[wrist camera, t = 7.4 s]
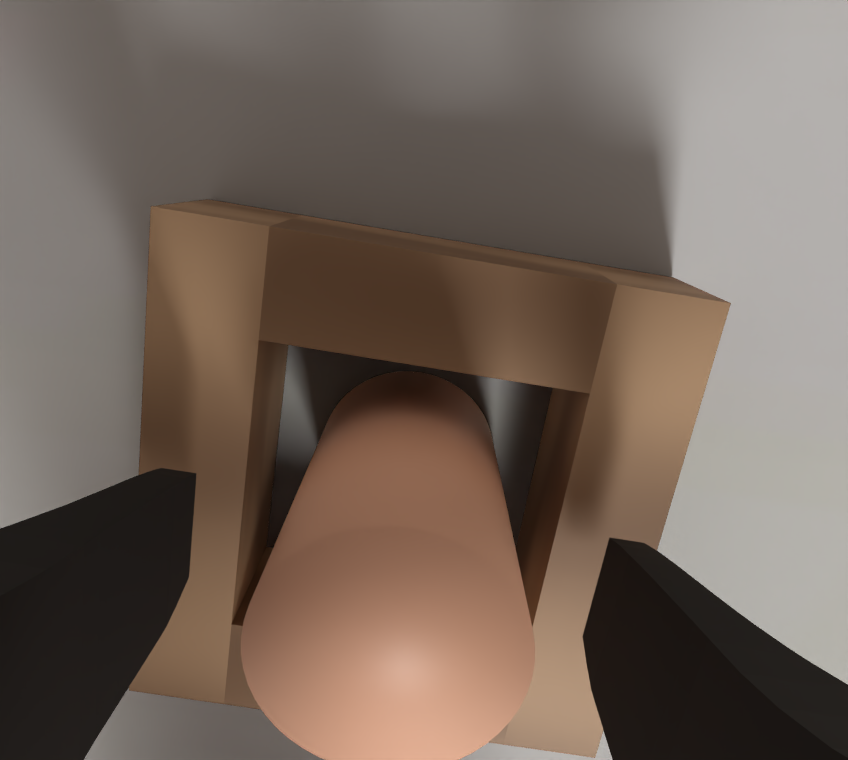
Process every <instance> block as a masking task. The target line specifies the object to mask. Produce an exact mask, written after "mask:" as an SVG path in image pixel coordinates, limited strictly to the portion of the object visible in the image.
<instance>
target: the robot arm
mask: <svg viewBox="0 0 848 760" xmlns="http://www.w3.org/2000/svg"><path fill="white" fill-rule="evenodd" d="M196 474H197V473H191V472H185V471H178V470H172V469H166V468H159V469H155V470H152V471H149V472H146V473H143V474H141V475H138V476H136V477H133V478H131V479H128V480H126V481H123V482H121V483H118V484H116V485H114V486H111V487H109V488H106V489H104V490H102V491H99V492H97V493H94V494H92V495H89V496H87V497H84V498H82V499H80V500H77V501H75V502H72V503H70V504H67V505H65V506H62V507H59V508H56V509H54V510H51V511H48V512H45V513H43V514H40V515H37V516H35V517H32V518H29V519H26V520H24V521H21V522H18V523H15V524H13V525H10V526H7V527H4V528H1V529H0V760H84V758H85V757H86V755H87V753H88V751H89V750H90V748H91V746H92V744H93V743H94V741H95V739H96V738H97V736H98V735H99V733H100V731H101V730H102V728H103V727H104V725H105V724H106V722H107V720H108V719H109V717H110V716H111V714H112V713H113V711H114V709H115V708H116V706H117V705H118V703H119V702H120V700H121V698H122V697H123V695H124V694H125V692H126V691H127V689H128V688H129V686H130V684H131V683H132V681H133V680H134V678H135V677H136V675H137V673H138V672H139V670H140V669H141V667H142V666H143V664H144V662H145V661H146V659H147V658H148V656H149V654H150V653H151V651H152V650H153V648H154V646H155V645H156V643H157V642H158V640H159V638H160V637H161V635H162V633H163V632H164V630H165V628H166V627H167V625H168V623H169V620H170V618H171V616H172V614H173V612H174V610H175V608H176V606H177V603H178V601H179V599H180V597H181V594H182V592H183V590H184V587H185V585H186V583H187V581H188V578H189V571H190V557H191V543H192V529H193V516H194V502H195V488H196ZM582 637H583V643H584V650H585V657H586V663H587V669H588V675H589V680H590V686H591V691H592V694H593V697H594V701H595V704H596V707H597V711H598V714H599V717H600V720H601V724H602V727H603V730H604V733H605V737H606V740H607V743H608V746H609V749H610V752H611V755H612V758H613V760H848V685H847V684H846V683H844V682H842V681H841V680H839V679H837V678H836V677H834V676H832V675H831V674H829V673H827V672H826V671H824V670H822V669H821V668H819V667H817V666H816V665H814V664H812V663H811V662H809V661H807V660H806V659H804V658H803V657H801V656H800V655H798V654H797V653H795V652H794V651H792V650H791V649H789V648H787V647H786V646H785V645H783V644H782V643H780V642H779V641H777V640H776V639H775V638H773V637H772V636H770V635H769V634H767V633H766V632H764V631H763V630H762V629H760V628H759V627H757V626H756V625H754V624H753V623H752V622H750V621H749V620H748V619H746V618H745V617H744V616H742V615H741V614H739V613H738V612H737V611H735V610H734V609H733V608H731V607H730V606H729V605H727V604H726V603H725V602H723V601H722V600H721V599H720V598H718V597H717V596H716V595H714V594H713V593H712V592H710V591H709V590H708V589H707V588H705V587H704V586H703V585H701V584H700V583H699V582H698V581H696V580H695V579H694V578H692V577H691V576H690V575H689V574H687V573H686V572H685V571H683V570H682V569H681V568H680V567H678V566H677V565H676V564H674V563H673V562H672V561H670V560H669V559H668V558H666V557H665V556H664V555H662V554H661V553H659V552H658V551H656V550H655V549H653V548H652V547H650V546H649V545H647V544H645V543H642V542H636V541H629V540H623V539H616V538H610V537H609V541H608V545H607V548H606V552H605V556H604V559H603V563H602V567H601V570H600V574H599V578H598V581H597V585H596V589H595V592H594V596H593V600H592V603H591V607H590V611H589V614H588V618H587V622H586V625H585V629H584V633H583V636H582Z"/></svg>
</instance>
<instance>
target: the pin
mask: <svg viewBox="0 0 848 760" xmlns="http://www.w3.org/2000/svg"><path fill="white" fill-rule="evenodd" d="M241 658H242V665H243V670H244V673H245V677H246V680H247V683H248V686H249V688H250V690H251V692H252V694H253V697H254V699H255V700H256V702H257V703H258V705H259V707H260V708H261V710H262V711H263V713H264V714H265V715H266V716H267V717H268V719H269V720H270V721H271V722H272V723H273V724H274V726H275V727H276V728H278V729H279V730H280V731H281V732H282V733H283V734H284V735H285V736H286V737H287V738H289V739H290V740H292V741H293V742H294V743H296V744H297V745H299V746H300V747H301V748H303V749H305V750H307V751H309V752H310V753H312V754H314V755H316V756H318V757H320V758H323V759H325V760H459V759H461V758H463V757H465V756H467V755H469V754H471V753H473V752H474V751H476V750H478V749H479V748H481V747H482V746H484V745H485V744H487V743H488V742H489V741H490V740H492V739H493V738H494V737H495V736H496V735H498V734H499V733H500V732H501V731H502V730H503V729H504V728H505V726H506V725H507V724H508V723H509V722H510V721H511V720H512V718H513V717H514V715H515V714H516V713H517V711H518V710H519V708H520V707H521V705H522V703H523V701H524V699H525V697H526V695H527V693H528V689H529V686H530V683H531V680H532V677H533V671H534V665H535V641H534V635H533V628H532V624H531V619H530V614H529V609H528V605H527V600H526V595H525V591H524V586H523V581H522V576H521V572H520V567H519V562H518V558H517V553H516V548H515V543H514V539H513V534H512V529H511V525H510V520H509V515H508V510H507V506H506V501H505V496H504V491H503V487H502V482H501V477H500V473H499V468H498V463H497V458H496V454H495V449H494V444H493V440H492V435H491V432H490V428H489V425H488V423H487V421H486V419H485V416H484V414H483V413H482V411H481V410H480V408H479V407H478V405H477V404H476V403H475V402H474V401H473V400H472V398H471V397H470V396H469V395H467V394H466V393H465V392H464V391H463V390H462V389H460V388H459V387H457V386H456V385H454V384H453V383H451V382H449V381H447V380H445V379H443V378H440V377H437V376H434V375H431V374H427V373H422V372H413V371H399V372H392V373H386V374H382V375H379V376H376V377H373V378H371V379H369V380H366V381H364V382H363V383H361V384H359V385H358V386H356V387H355V388H353V389H352V390H351V391H350V392H349V393H347V394H346V395H345V396H344V397H343V398H342V400H341V401H340V402H339V403H338V404H337V406H336V407H335V409H334V410H333V412H332V414H331V416H330V417H329V419H328V422H327V424H326V426H325V429H324V431H323V433H322V436H321V438H320V440H319V443H318V445H317V447H316V450H315V452H314V454H313V457H312V459H311V461H310V464H309V466H308V468H307V471H306V473H305V475H304V478H303V480H302V482H301V485H300V487H299V489H298V492H297V494H296V496H295V499H294V501H293V503H292V506H291V508H290V510H289V513H288V515H287V517H286V520H285V522H284V524H283V527H282V529H281V531H280V534H279V536H278V538H277V541H276V543H275V545H274V548H273V550H272V552H271V555H270V557H269V559H268V562H267V564H266V566H265V569H264V571H263V573H262V576H261V578H260V580H259V583H258V585H257V587H256V590H255V592H254V594H253V597H252V599H251V601H250V604H249V606H248V609H247V612H246V615H245V618H244V622H243V627H242V633H241Z"/></svg>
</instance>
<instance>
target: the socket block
mask: <svg viewBox="0 0 848 760" xmlns="http://www.w3.org/2000/svg"><path fill="white" fill-rule="evenodd" d="M730 304H731V303H729V302H727V301H724V300H722V299H720V298H718V297H716V296H713V295H711V294H709V293H707V292H704V291H702V290H700V289H698V288H695V287H693V286H691V285H689V284H687V283H684V282H682V281H680V280H678V279H675V278H673V277H667V276H661V275H655V274H649V273H644V272H638V271H632V270H626V269H620V268H614V267H608V266H602V265H596V264H590V263H584V262H578V261H572V260H566V259H560V258H554V257H548V256H542V255H536V254H530V253H524V252H518V251H512V250H507V249H501V248H495V247H489V246H483V245H477V244H471V243H465V242H459V241H453V240H447V239H441V238H435V237H429V236H423V235H417V234H411V233H405V232H399V231H393V230H387V229H381V228H376V227H370V226H364V225H358V224H352V223H346V222H340V221H334V220H328V219H322V218H316V217H310V216H304V215H298V214H292V213H286V212H280V211H274V210H268V209H262V208H256V207H250V206H245V205H239V204H233V203H227V202H221V201H215V200H209V199H206V200H198V201H190V202H182V203H174V204H166V205H158V206H151V213H150V236H149V258H148V280H147V303H146V325H145V347H144V369H143V392H142V414H141V436H140V459H139V475H141V474H143V473H146V472H149V471H152V470H155V469H159V468H166V469H172V470H178V471H185V472H191V473H197V474H196V488H195V502H194V516H193V529H192V543H191V557H190V571H189V578H188V581H187V583H186V585H185V587H184V590H183V592H182V594H181V597H180V599H179V601H178V603H177V606H176V608H175V610H174V612H173V614H172V616H171V618H170V620H169V623H168V625H167V627H166V628H165V630H164V632H163V633H162V635H161V637H160V638H159V640H158V642H157V643H156V645H155V646H154V648H153V650H152V651H151V653H150V654H149V656H148V658H147V659H146V661H145V662H144V664H143V666H142V667H141V669H140V670H139V672H138V673H137V675H136V677H135V678H134V680H133V681H132V683H131V684H130V686H129V690H130V691H137V692H144V693H151V694H158V695H165V696H172V697H178V698H185V699H192V700H199V701H206V702H213V703H220V704H227V705H234V706H241V707H248V708H254V709H261V708H260V707H259V705H258V703H257V702H256V700H255V699H254V697H253V694H252V692H251V690H250V688H249V686H248V683H247V680H246V677H245V673H244V670H243V665H242V658H241V633H242V627H243V622H244V618H245V615H246V612H247V609H248V606H249V604H250V601H251V599H252V597H253V594H254V592H255V590H256V587H257V585H258V583H259V580H260V578H261V576H262V573H263V571H264V569H265V566H266V564H267V562H268V559H269V557H270V555H271V552H272V550H273V548H271V547H267V537H268V528H269V519H270V510H271V501H272V491H273V482H274V473H275V464H276V454H277V445H278V436H279V427H280V418H281V408H282V399H283V390H284V381H285V371H286V362H287V353H288V345H292V346H298V347H305V348H311V349H317V350H323V351H329V352H336V353H342V354H348V355H354V356H360V357H366V358H373V359H379V360H385V361H391V362H397V363H404V364H410V365H416V366H422V367H428V368H434V369H441V370H447V371H453V372H459V373H465V374H472V375H478V376H484V377H490V378H496V379H502V380H509V381H515V382H521V383H527V384H533V385H540V386H546V387H552V388H553V389H552V393H551V398H550V402H549V406H548V411H547V415H546V419H545V424H544V428H543V432H542V437H541V441H540V445H539V450H538V454H537V458H536V463H535V467H534V472H533V476H532V480H531V485H530V489H529V493H528V498H527V502H526V506H525V511H524V515H523V519H522V524H521V528H520V532H519V537H518V541H517V546H516V553H517V558H518V562H519V567H520V572H521V576H522V581H523V586H524V591H525V595H526V600H527V605H528V609H529V614H530V619H531V624H532V628H533V635H534V641H535V665H534V671H533V677H532V680H531V683H530V686H529V689H528V693H527V695H526V697H525V699H524V701H523V703H522V705H521V707H520V708H519V710H518V711H517V713H516V714H515V715H514V717H513V718H512V720H511V721H510V722H509V723H508V724H507V725H506V726H505V728H504V729H503V730H502V731H501V732H500V733H499V734H498V735H496V736H495V737H494V738H493V739H492V740H490V741H489V743H496V744H503V745H510V746H517V747H524V748H531V749H538V750H545V751H552V752H559V753H566V754H572V755H579V756H586V757H593V758H595V756H596V753H597V750H598V746H599V743H600V740H601V736H602V733H603V727H602V724H601V720H600V717H599V714H598V711H597V707H596V704H595V701H594V697H593V694H592V691H591V686H590V680H589V675H588V669H587V663H586V657H585V650H584V643H583V637H582V636H583V633H584V629H585V625H586V622H587V618H588V614H589V611H590V607H591V603H592V600H593V596H594V592H595V589H596V585H597V581H598V578H599V574H600V570H601V567H602V563H603V559H604V556H605V552H606V548H607V545H608V541H609V537H610V538H616V539H623V540H629V541H636V542H642V543H645V544H647V545H649V546H650V547H652V548H653V549H655V550H656V551H657V549H658V545H659V542H660V539H661V535H662V532H663V528H664V525H665V522H666V518H667V515H668V512H669V508H670V505H671V502H672V498H673V495H674V492H675V488H676V485H677V482H678V478H679V475H680V472H681V468H682V465H683V461H684V458H685V455H686V451H687V448H688V445H689V441H690V438H691V435H692V431H693V428H694V425H695V421H696V418H697V415H698V411H699V408H700V405H701V401H702V398H703V394H704V391H705V388H706V384H707V381H708V378H709V374H710V371H711V368H712V364H713V361H714V358H715V354H716V351H717V348H718V344H719V341H720V338H721V334H722V331H723V327H724V324H725V321H726V317H727V314H728V311H729V307H730Z"/></svg>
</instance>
